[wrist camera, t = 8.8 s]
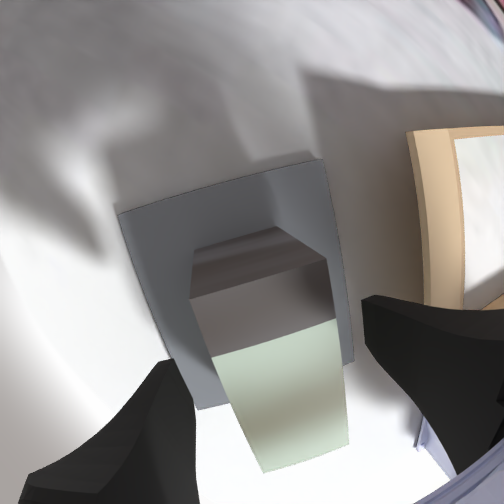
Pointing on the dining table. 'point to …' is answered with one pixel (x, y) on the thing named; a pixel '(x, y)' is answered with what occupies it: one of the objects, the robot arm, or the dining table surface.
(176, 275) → the mat
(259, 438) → the box
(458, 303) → the carton
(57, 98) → the dining table surface
